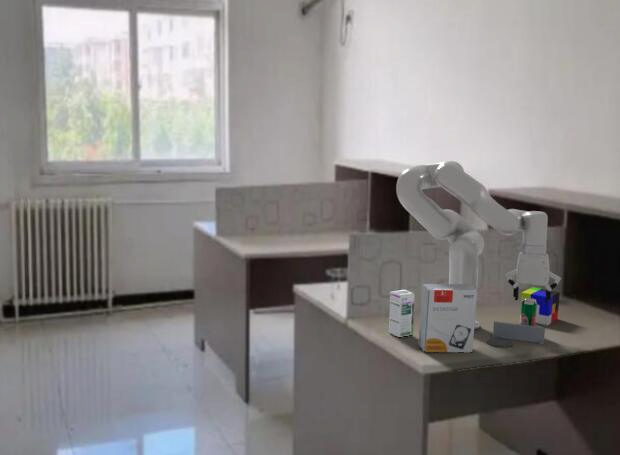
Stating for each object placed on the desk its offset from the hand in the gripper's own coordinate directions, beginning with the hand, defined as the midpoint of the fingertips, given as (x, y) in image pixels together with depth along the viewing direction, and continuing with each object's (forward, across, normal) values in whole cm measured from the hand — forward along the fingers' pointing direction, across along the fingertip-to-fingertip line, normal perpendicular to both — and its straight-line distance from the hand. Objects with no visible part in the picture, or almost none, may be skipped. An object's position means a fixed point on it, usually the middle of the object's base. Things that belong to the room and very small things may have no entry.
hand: (531, 300), depth 248 cm
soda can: (+12, -1, 0) cm, 12 cm away
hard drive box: (+11, -23, -26) cm, 36 cm away
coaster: (+12, -8, -13) cm, 19 cm away
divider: (+12, -3, -6) cm, 14 cm away
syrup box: (+11, -39, -18) cm, 45 cm away
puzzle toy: (+12, +1, +20) cm, 24 cm away
